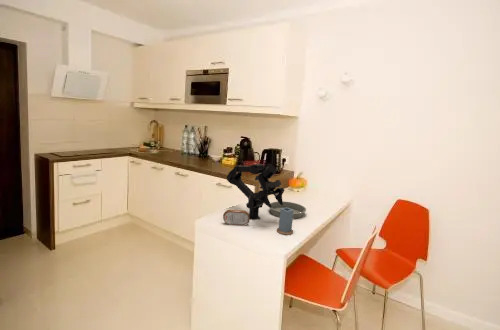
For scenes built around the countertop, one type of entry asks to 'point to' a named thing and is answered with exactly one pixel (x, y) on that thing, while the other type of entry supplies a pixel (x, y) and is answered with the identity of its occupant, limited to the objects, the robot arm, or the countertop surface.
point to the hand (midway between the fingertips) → (276, 206)
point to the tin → (236, 217)
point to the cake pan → (296, 207)
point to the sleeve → (286, 219)
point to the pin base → (284, 233)
